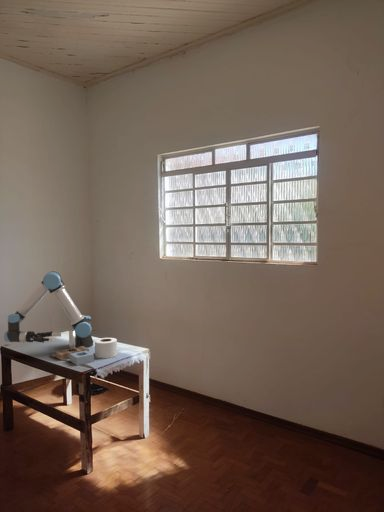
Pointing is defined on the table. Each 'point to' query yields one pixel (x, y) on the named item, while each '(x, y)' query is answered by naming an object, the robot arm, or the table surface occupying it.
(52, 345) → the table surface
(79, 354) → the seat block
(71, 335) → the steel axle
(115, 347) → the toilet paper roll
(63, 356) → the walnut beam
